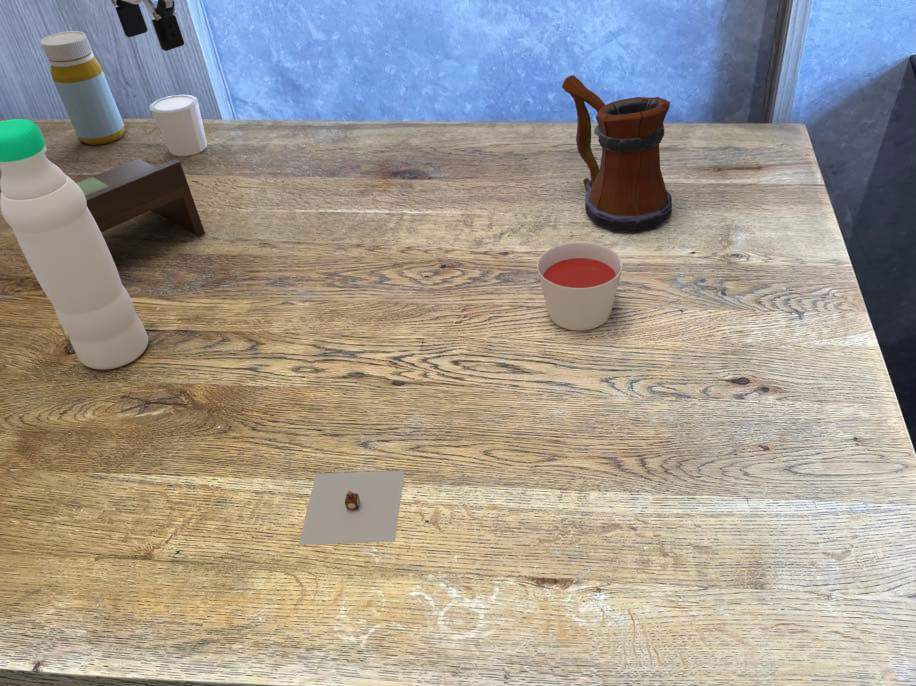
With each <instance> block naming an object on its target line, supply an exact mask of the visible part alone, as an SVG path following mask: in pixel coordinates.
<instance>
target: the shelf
mask: <svg viewBox="0 0 916 686" xmlns="http://www.w3.org/2000/svg"><path fill="white" fill-rule="evenodd" d="M75 183H76V184H77V185H78V186H79V187H80V188H81V190H82V191H83V193H84V195H85V198H86V202H87V208H88V209H89V211H90V213H91V214H92V216H93V218H94V220H95V222H96V224H97V225H98V227H99V229H100V232H101V233H104V232H106V231H108V230H110V229H112V228H115V227H117V226H119V225H121V224H124V223H127V222H129V221H131V220H133V219H136V218H138V217H140V216H142V215H144V214H147V213H149V212H152V213H154V214H155V215H157V216H158V217H161V218H162V219H164V220H166V221H167V222H169V223H171V224H173V225H174V226H177V227H178V228H180V229H182V230H183V231H185V232H187V233H189V234H191V235H192V236H194V237H195V238H200V237H202V236H204V235H206V232H205V228H204V227H203V223H202V220H201V218H200V217H201V216H200V215H199V211H198V209H197V206H196V203H195V201H194V197H193V194H192V191H191V188H190V185H189V182H188V180H187V178H186V175H185V172H184V168H183V166H182V163H181V161H179V160H177V159H172V160H170V161H167V162H165V163H163V164H160V165H157V166H153V165H152V164H149V163H148V162H145V161H143V160H142V159H140V158H137V159H134V160H131V161H129V162H126V163H124V164H121V165H118V166H116V167H114V168H111V169H108V170H105V171H104V172H101V173H98V174H96V175H93V176H91V177H88V178H85V179H83V180H81V181H78V182H75Z"/></svg>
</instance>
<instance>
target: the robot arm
mask: <svg viewBox="0 0 916 686" xmlns="http://www.w3.org/2000/svg"><path fill="white" fill-rule="evenodd" d="M110 1H111V3H112V6H114V8H115V11H116V14H117V17H118V20H119V23H120V25H121V28H122V30H123V33H124V35H125V37H127V38H132V37H136V36H139V35H142V34H145V33H147V32H148V31H149V30H148V26H147V23H146V20H145V18H144V15H143V12H142V10H141V7H140V4H141V3H142V2H143V4H144V5H145V7H146V9H147V10H148V11H149V13H150V14H151V16H152V18H153V19H151V23H152V26H153V28H154V32H155V35H156V37H157V41H158V43H159V46H160V49H161V50H162V51H165V52H167V51H168V52H169V51H171V50H173V49H176V48H179V47H183V46H184V45H185V40H184V37H183V34H182V31H181V28H180V25H179V22H178V19H177V16H176V15H177V10H176V8H175V5H176V4H175V2H176V1H175V0H110ZM155 2H157V4H156V5H155Z"/></svg>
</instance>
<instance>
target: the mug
mask: <svg viewBox="0 0 916 686" xmlns="http://www.w3.org/2000/svg"><path fill="white" fill-rule="evenodd" d="M561 88H562V89H563V91H565V92H566V93H568V95H570V96H571V98H572V99H573V101H574V106H575V109H576V120H577V124H576V125H577V126H576V137H575V142H576V147H577V152H578V153H579V157H580V158H581V159H582V160H583V161H584V163H585V164H586V166H587V167H588V169H589V174H590V179H589V178H587V177H585V178H584V179H583V180H582V181H583V185H584V188H585V190H586V192H585V199H584V200H585V201H584V211H585V213H586V215H587V216H588V217H589V218H590V219H591V220H592V221H594V222H595V224H598V226H601V227H602V228H605V229H608V230H609V231H611V232H613V233H641V232H645V231H650V230H654V229H657V228H659V227H660V226H661V225H663V223H665V221H667V220H668V219H669V218H670V217H671V214H672V210H673V198H672V195H671V193H670V192H669V191H668V190H667V188H666V183H665V181H664V177H663V172H662V170H661V155H660V143H661V142H662V140H663V138H664V136H665V126H664V121H665V119H666V116H667V114H668V112H669V110H670V107H671V102H670V101H669V100H667V99H664V98H663V97H660V96H654V97H644V96H637V97H636V96H635V97H630V98H622V99H619V100H618V99H617V100H614V101H611V102H609V103H607V104H606V103H605V102H604V101H603V100H602V99H601V97H600V96H599V95H597V94H596V93H595V92H593V91H592V90H591V89H589V88H587V87H586V85H584V83H583V82H582V81H581V80H580V79H579V78H578V77H577V76H576V75H573V74H570V75H568V76H567V77H565V78H564V80H563V83H562V85H561ZM586 104H587V105H589V106H590V107H591V108H593V109H594V110H595V111H596V113H597V114H596V116H595V119H596V122H597V125H595V127H594V131H593V133H594V135H596V136H597V137H598V140H597V141H598V144H599V145H600V147H601V157H600V165H598V162H597V160H596V158H595V156H594V154H593V151H592V147H591V145H592V119H591V116H590V113H589V109H588V107H587V106H586ZM599 166H600V167H599Z"/></svg>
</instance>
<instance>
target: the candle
mask: <svg viewBox="0 0 916 686" xmlns="http://www.w3.org/2000/svg"><path fill="white" fill-rule="evenodd" d="M536 262H537V263H536V271H537V275H538V279H539V282H540V287H541V290H542V295H543V299H544V303H545V307H546V310H547V314H548V317H549V318H550V319H551V321H552V322H553V323H554V324H555V325H557V326H559V327H561V328H563V329H567V330H571V331H589V330H593V329H596V328H598V327H600V326H602V325H604V324H605V323H606V322H608V320H609V318H610V317H611V314H612V311H613V307H614V303H615V299H616V295H617V291H618V287H619V284H620V279H621V275H622V270H623V260H622V258H621V256H620V255H619V254H618V252H616V251H615V250H613V249H612V248H610V247H608V246H605V245H603V244H599V243H595V242H589V241H573V242H572V241H571V242H565V243H561V244H558V245H555V246H552V247H551V248H548V249H547V250H545V251H544V252H543V253H542V254H540V256H539V258H538V259H537V261H536Z"/></svg>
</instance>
